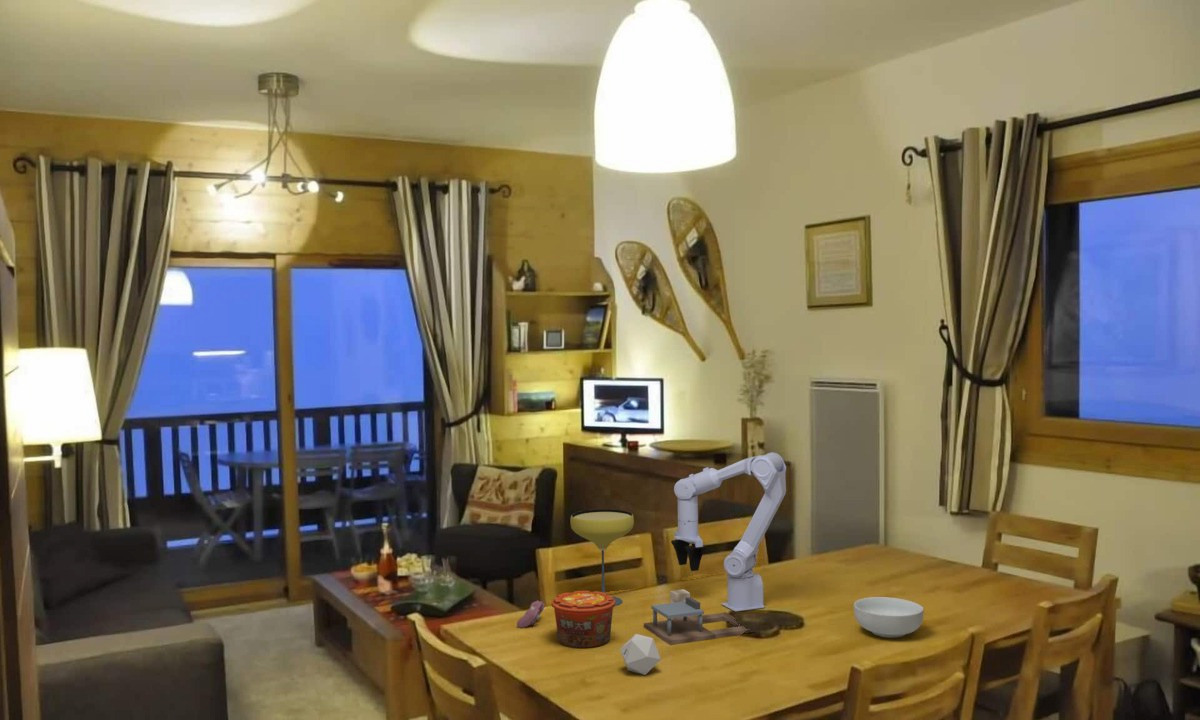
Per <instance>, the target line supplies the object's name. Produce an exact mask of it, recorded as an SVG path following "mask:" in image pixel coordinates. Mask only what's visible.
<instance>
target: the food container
mask: <svg viewBox="0 0 1200 720" xmlns="http://www.w3.org/2000/svg"><path fill="white" fill-rule="evenodd" d="M613 597H614V596H613ZM613 597H612V595H611V594H609V595H608V593H607V592H606V593H604V592H601V591H597V590H595V591H590V590H574V591H573V592H568V591H566V592H564V593H563V592H562V593H560V594H558V595H557V596H556V597H554V599H552V600H551V607H552V608H553V610H554V616H555V617H554V618H555V624H556V625H555V626H556V630H557V631H556V632H557V639H558V642H559V643H560V644H561V645H563V646H564V647H568V648H573V649H593V648H594V649H595V648H599V647H601V646H605V645H607V644H608V643H609V642H610V640H611V630H612V620H613V613H614V612H613V611H614V608H615V606H614V605H615V603H616V601H615V600H614V599H613Z"/></svg>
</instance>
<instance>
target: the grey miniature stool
mask: <svg viewBox="0 0 1200 720" xmlns="http://www.w3.org/2000/svg"><path fill="white" fill-rule="evenodd" d="M685 599H686V601H683V602H675V603H670V602H668V603H661V604H653V605H651V607H650V608H651V609H652V617H653V618H652V620H653V621H652V622H653V625H657V621H658V614H659V615H661V616H662V617H664V618H666V620H667V633H668V634H672V632H671V620H672V619H673V618H679V617H683V621H687V616H694V615H698V630H702V627H703V624H702V615H705V611H704V610H703V609H701V602H700V601H698V600H696V599H694V598H693V597H691V596H690V597H685Z"/></svg>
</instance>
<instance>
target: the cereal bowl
mask: <svg viewBox="0 0 1200 720" xmlns="http://www.w3.org/2000/svg"><path fill="white" fill-rule="evenodd" d="M853 613H854V618H855V620H856V622H857V623H858V624H859V625H860V626H861V627H862V628H863V629H865V630H867V631H870V632H871V633H872V634H873V635H875V636H878V637H882V638H889V639H893V638H894V639H896V638H902V637H904V636H905V635H908V634H911V633H913V632H915V631H917V630H918V629H919V628H921V626H922V623H923V620H924V613H925V611H924V607H923V606H922V605H921V604H919V603H917V602H914V601H911V600H908V599H903V598H897V597H886V596H874V597H873V596H872V597H871V596H870V597H865V598H860V599H857V600H856V601H855V602H854V603H853Z"/></svg>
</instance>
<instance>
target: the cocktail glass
mask: <svg viewBox="0 0 1200 720" xmlns="http://www.w3.org/2000/svg"><path fill="white" fill-rule="evenodd" d="M569 521H570V528H571V530H572V531H573V532H574V533H575V534H577V535H578V536H580V537H581V538H583V539H586V540H587V541H590V542H591V543H592V544H594V545H595V546H596V547H597V549H598V550H600V551H601V591H600V592H604V593H607V592H606V586H605V585H606V583H605V582H606V581H605V550H607V548H609V545H611V544H612V543H613V542H615V541H616V540H618V539H620V538H622V537H624V536H625V535H627V534H628V533H630V532H631V531H632V529H633V528H634V524H635V519H634V514H633V512H631V511H627V510H621V509H612V508H611V509H608V508H607V509H606V508H605V509H604V508H603V509H601V508H600V509H598V508H597V509H587V510H581V511H580V510H579V511H576V512H574V513H572V514H571V516H570V520H569ZM613 599H614V600H615V601H616V603H615V605H617V606H619V605H621V604H622V603H623V599H622V598H620V597H618V598H617V596H613ZM620 603H621V604H620ZM618 604H619V605H618ZM615 605H614V607H616V606H615Z"/></svg>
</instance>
